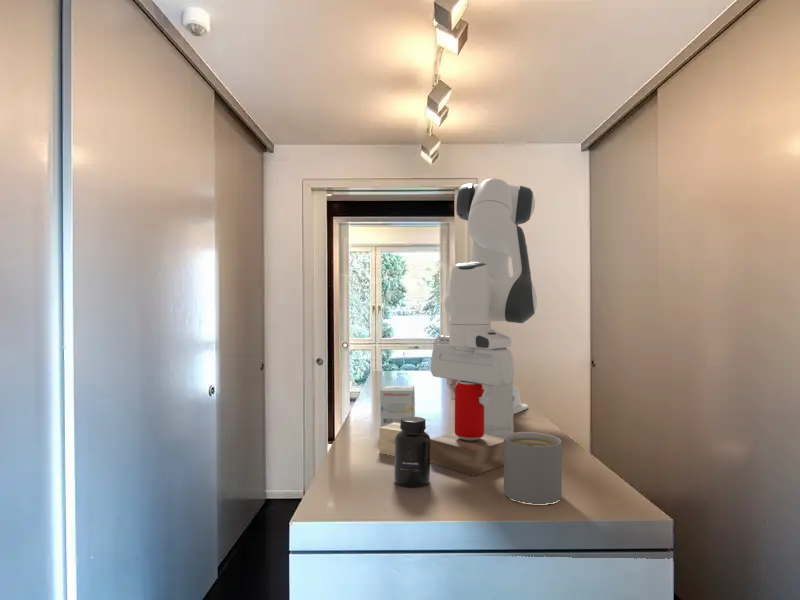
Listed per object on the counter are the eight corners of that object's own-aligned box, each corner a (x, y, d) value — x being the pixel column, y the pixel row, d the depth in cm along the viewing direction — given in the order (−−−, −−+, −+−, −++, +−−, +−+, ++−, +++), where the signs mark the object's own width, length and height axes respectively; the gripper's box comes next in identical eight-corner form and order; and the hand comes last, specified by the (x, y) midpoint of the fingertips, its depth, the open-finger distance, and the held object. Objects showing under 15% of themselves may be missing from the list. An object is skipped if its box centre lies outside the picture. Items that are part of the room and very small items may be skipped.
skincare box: (508, 434, 135) (508, 376, 135) (514, 440, 129) (514, 380, 129) (476, 434, 135) (476, 377, 135) (480, 440, 129) (480, 380, 129)
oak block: (393, 447, 123) (394, 422, 123) (415, 451, 120) (415, 425, 120) (379, 454, 118) (379, 427, 118) (402, 458, 115) (402, 431, 115)
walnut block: (465, 451, 120) (465, 429, 120) (509, 463, 111) (509, 439, 111) (429, 462, 112) (429, 438, 112) (473, 476, 103) (473, 450, 103)
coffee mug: (571, 505, 88) (571, 445, 88) (513, 507, 88) (513, 447, 88) (542, 478, 102) (542, 426, 102) (492, 479, 101) (492, 428, 101)
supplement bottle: (404, 490, 95) (404, 424, 95) (388, 479, 101) (388, 417, 101) (437, 484, 98) (437, 420, 98) (419, 473, 104) (419, 413, 104)
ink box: (415, 428, 142) (415, 384, 142) (413, 436, 133) (413, 389, 133) (384, 427, 143) (384, 383, 143) (379, 435, 134) (379, 389, 134)
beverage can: (485, 442, 108) (486, 384, 108) (455, 441, 108) (456, 383, 108) (481, 434, 114) (482, 379, 114) (453, 434, 114) (453, 379, 114)
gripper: (424, 335, 117) (424, 397, 117) (499, 341, 102) (499, 412, 102) (443, 334, 121) (443, 394, 121) (518, 339, 106) (518, 407, 106)
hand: (469, 402), depth 111 cm, fingers closed on beverage can, 6 cm apart
